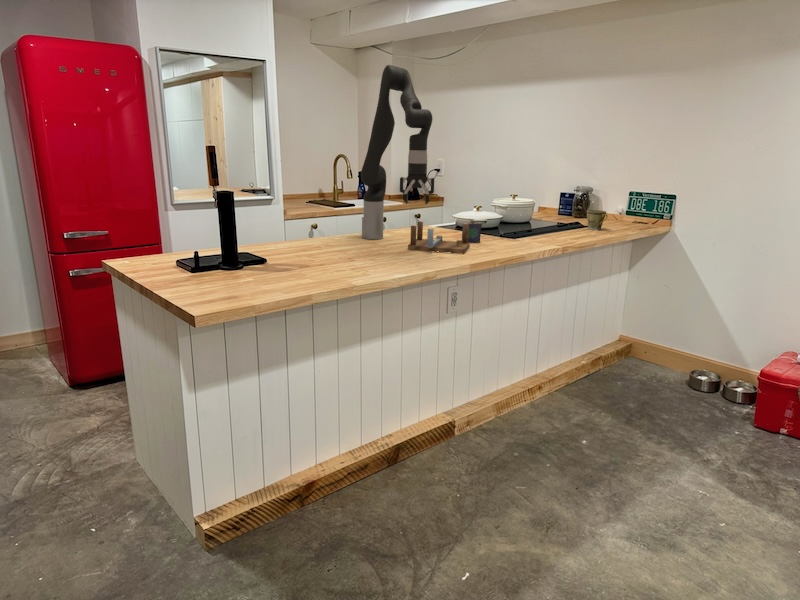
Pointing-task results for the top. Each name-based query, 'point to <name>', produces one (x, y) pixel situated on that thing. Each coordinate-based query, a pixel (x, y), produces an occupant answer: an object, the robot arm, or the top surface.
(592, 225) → the ceramic cup
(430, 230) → the cylinder
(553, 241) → the top surface
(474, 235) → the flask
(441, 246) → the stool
